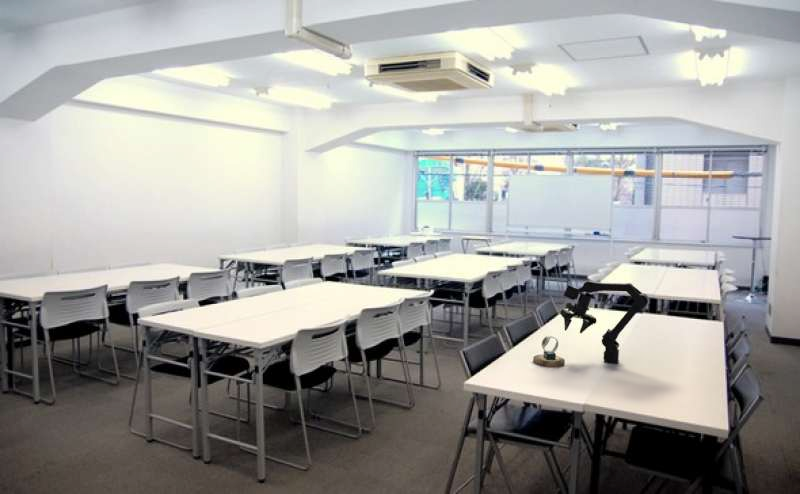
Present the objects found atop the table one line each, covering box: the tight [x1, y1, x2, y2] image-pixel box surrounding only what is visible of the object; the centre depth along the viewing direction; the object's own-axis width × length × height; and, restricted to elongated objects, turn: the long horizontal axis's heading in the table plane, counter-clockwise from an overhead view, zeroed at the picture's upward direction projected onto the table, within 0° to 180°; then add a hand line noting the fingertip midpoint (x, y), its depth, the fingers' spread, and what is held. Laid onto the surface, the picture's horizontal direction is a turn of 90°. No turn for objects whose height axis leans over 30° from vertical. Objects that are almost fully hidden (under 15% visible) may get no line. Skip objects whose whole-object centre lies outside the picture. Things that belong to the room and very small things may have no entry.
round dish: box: [532, 354, 566, 368], centre depth 282 cm, size 15×15×2 cm
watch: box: [541, 335, 559, 360], centre depth 281 cm, size 6×8×11 cm
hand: (572, 331), depth 294 cm, fingers open, 9 cm apart
